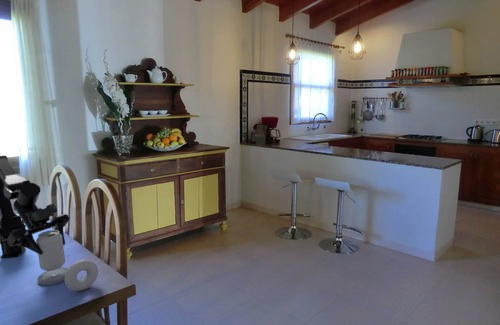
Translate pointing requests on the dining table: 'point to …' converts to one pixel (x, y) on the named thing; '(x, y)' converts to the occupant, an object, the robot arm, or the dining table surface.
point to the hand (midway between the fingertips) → (53, 249)
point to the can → (51, 250)
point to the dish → (52, 277)
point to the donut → (85, 282)
